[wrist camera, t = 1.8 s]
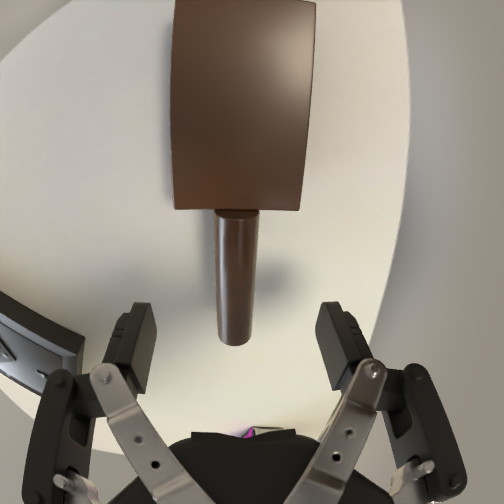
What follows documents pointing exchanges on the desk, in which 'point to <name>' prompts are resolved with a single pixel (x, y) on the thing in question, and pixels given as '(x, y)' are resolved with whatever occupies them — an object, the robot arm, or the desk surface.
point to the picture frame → (35, 346)
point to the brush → (239, 129)
